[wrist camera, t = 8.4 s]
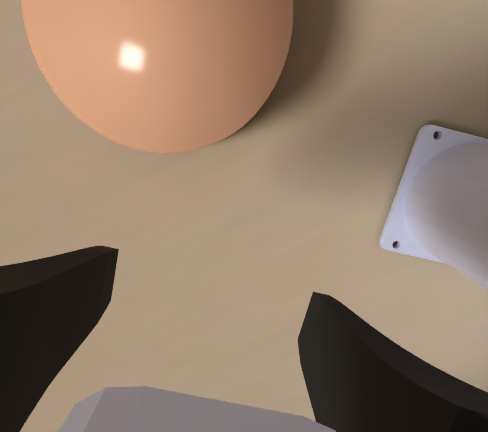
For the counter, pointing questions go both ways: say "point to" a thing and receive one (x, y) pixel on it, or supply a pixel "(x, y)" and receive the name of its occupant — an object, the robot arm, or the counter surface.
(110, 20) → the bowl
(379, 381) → the robot arm
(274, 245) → the counter surface
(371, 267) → the counter surface
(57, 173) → the counter surface
